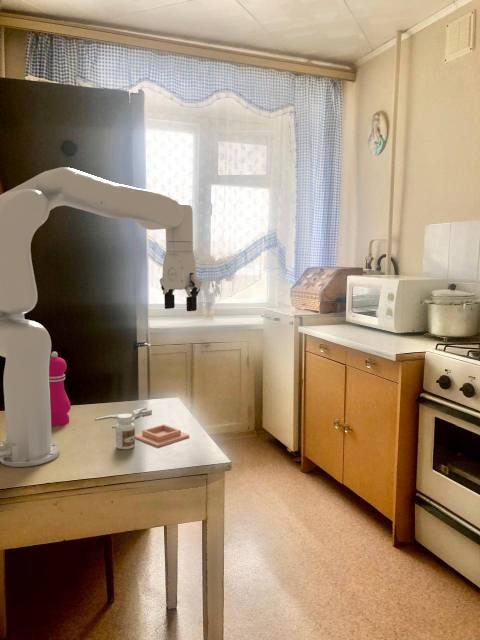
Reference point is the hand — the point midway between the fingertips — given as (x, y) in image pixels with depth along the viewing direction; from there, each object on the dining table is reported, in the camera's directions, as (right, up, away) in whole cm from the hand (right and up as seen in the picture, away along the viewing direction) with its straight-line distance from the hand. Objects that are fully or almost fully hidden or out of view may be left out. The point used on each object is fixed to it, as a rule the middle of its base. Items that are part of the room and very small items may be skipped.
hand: (180, 309), depth 146 cm
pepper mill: (-34, -32, -3) cm, 46 cm away
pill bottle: (-11, -34, -21) cm, 41 cm away
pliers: (-15, -31, +1) cm, 35 cm away
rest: (-3, -33, -15) cm, 36 cm away
